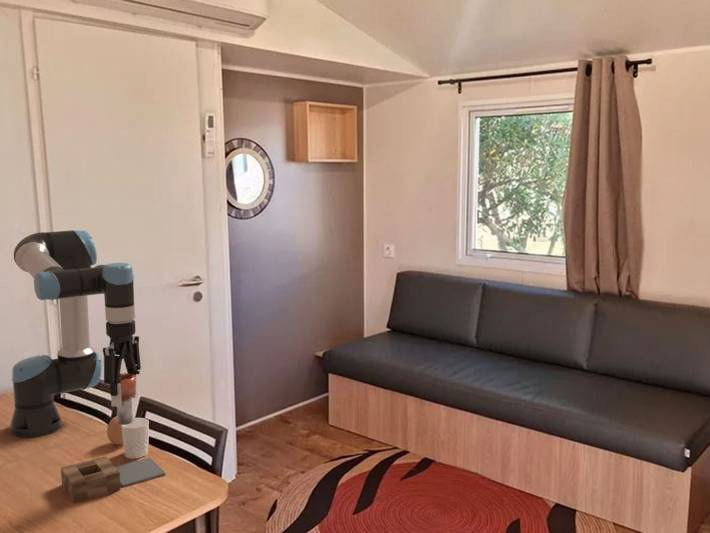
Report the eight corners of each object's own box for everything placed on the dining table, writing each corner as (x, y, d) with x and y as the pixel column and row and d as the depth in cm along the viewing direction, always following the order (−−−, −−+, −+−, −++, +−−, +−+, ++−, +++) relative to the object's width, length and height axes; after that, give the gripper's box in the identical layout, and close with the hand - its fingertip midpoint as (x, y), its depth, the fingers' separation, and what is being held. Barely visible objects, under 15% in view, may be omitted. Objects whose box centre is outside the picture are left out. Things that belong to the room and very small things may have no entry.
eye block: (61, 484, 181) (60, 467, 180) (106, 472, 189) (105, 456, 188) (73, 503, 172) (72, 485, 171) (120, 489, 179) (119, 472, 178)
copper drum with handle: (141, 418, 186) (139, 371, 184) (128, 427, 180) (126, 379, 178) (121, 416, 188) (119, 369, 186) (108, 425, 182) (105, 376, 180)
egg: (123, 449, 203) (122, 421, 202) (103, 447, 205) (102, 419, 203) (134, 440, 210) (132, 413, 208) (114, 438, 211) (113, 411, 210)
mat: (109, 470, 190) (109, 468, 190) (150, 459, 197) (150, 457, 197) (122, 487, 180) (122, 485, 180) (165, 474, 188) (165, 472, 188)
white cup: (141, 461, 196) (140, 429, 194) (117, 458, 198) (116, 426, 196) (154, 449, 204) (153, 418, 202) (131, 447, 205) (130, 416, 204)
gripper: (128, 311, 190) (132, 388, 193) (85, 328, 171) (90, 413, 175) (152, 313, 188) (155, 391, 192) (111, 330, 169) (115, 416, 173)
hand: (124, 401), depth 183 cm, fingers closed on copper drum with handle, 6 cm apart
